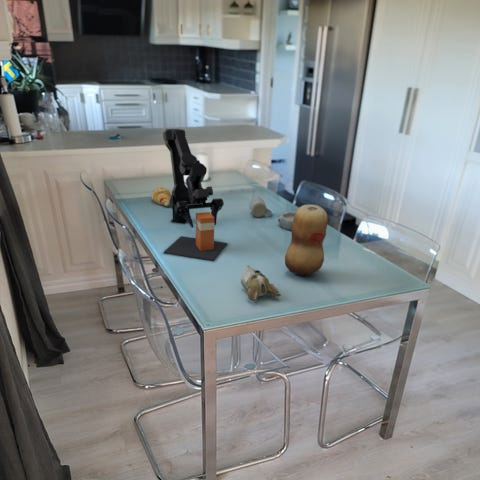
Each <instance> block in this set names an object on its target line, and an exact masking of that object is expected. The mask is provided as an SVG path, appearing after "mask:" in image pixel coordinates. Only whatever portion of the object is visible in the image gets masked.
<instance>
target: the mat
mask: <svg viewBox="0 0 480 480" xmlns="http://www.w3.org/2000/svg"><path fill="white" fill-rule="evenodd" d="M227 245H228V242H224V241H217V240H214V249H212V250H203V251H200V249H199V248H198V247H197V245H196V237H190V236H183V235H182V236H179V237H178V238H177V239H176V240H175V241H174V242H173V243H172V244H170V246H169V247H168V248H166V249H165V250H164V251H163V254H166V255H171V256H172V255H173V256H179V257H184V258H189V259H196V260H204V261H210V262H213V261H215V260H216V258H217V257H218V256H219V255H220V253H221V252H222V251H223V250H224V248H225V247H227Z"/></svg>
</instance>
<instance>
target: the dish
mask: <svg viewBox="0 0 480 480" xmlns="http://www.w3.org/2000/svg"><path fill="white" fill-rule="evenodd" d="M295 212H296V211H287V212H283V213H281V214H280V216H278V218H277V222H278V223H279V226H280V227H281V228H283V229H286V230H289V231H292V223H293V219H294V215H295Z"/></svg>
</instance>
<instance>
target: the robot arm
mask: <svg viewBox="0 0 480 480" xmlns="http://www.w3.org/2000/svg"><path fill="white" fill-rule="evenodd" d="M162 139H163V141H164V144H165V145H164V146H165V147H166V148H167V149H168V151H169V155H170V162H171V170H172V178H173V188H172V190H171V198H170V201H169V203H170V206H169V208H170V209H171V210H172V219H171V222H172V223H179V224H186V223H187V224H188V225H189V226H190V228H194V222H193V218H192V216H191V212H190V210H197V209H208V208H210V213H211V215H212V216H213V217H214V226H216V225H217V218H218V213H219V212H220V211H222V209H223V207H224V205H225V203H224V199H223V198H222V197H219V198H218V197H217V198H212V200H211V202H210V201H209V202H208V199H209V198H210V196H212V195H214V190H213V187H212V186H206V187H205V188H203V184H202V183H203V181H204V179H205V177H206V175H207V171H208V169H207V167H206V166H205V164H203V163H202V162H201V161H200V160H199V159H197V157H196V156H195V155H193V154H192V152H191V148H190V145H189V142H188V140H187V137H186V131H185V130H184V129H182V128H165V130H164V131H163V132H162ZM185 176H187V177H186V178H185Z"/></svg>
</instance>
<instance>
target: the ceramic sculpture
mask: <svg viewBox="0 0 480 480" xmlns="http://www.w3.org/2000/svg"><path fill="white" fill-rule="evenodd" d="M240 284H241V286H242V287H243V288H244V289H246V294H247V295H246V296H247V297H248V299H249V300H251V301H252V302H257V301H258V299H259V298H260V297H263V296H265V295H267V294H268V295H269V296H271V297H281V296H282V295H281V293H279V290H278V288H277V287H276V286H275V285H274V284H272V283H270V281H269V279H268V278H267V276H266V275H265V274H263V273H262V271H260V270H259V269H255V268H253V267H251V266H250V265H247V266H246V267H245V269H244V271H243V273H242V275H241V278H240Z"/></svg>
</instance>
